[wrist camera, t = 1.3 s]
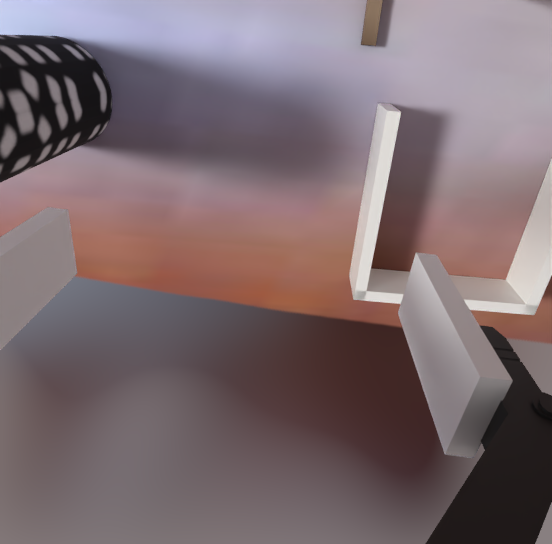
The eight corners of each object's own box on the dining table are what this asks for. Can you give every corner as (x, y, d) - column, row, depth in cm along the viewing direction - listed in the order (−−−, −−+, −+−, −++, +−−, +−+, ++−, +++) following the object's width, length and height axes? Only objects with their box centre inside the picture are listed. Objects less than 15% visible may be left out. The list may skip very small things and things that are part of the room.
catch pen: (378, 102, 34) (387, 110, 30) (580, 117, 33) (616, 127, 29) (349, 275, 41) (353, 299, 38) (512, 289, 41) (534, 315, 37)
